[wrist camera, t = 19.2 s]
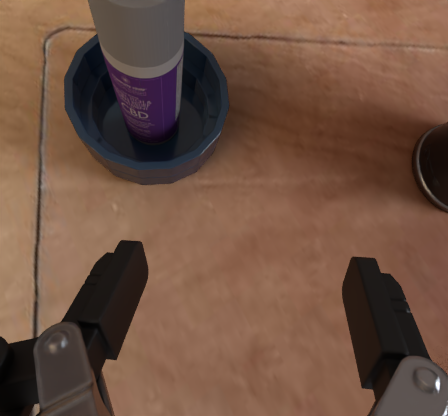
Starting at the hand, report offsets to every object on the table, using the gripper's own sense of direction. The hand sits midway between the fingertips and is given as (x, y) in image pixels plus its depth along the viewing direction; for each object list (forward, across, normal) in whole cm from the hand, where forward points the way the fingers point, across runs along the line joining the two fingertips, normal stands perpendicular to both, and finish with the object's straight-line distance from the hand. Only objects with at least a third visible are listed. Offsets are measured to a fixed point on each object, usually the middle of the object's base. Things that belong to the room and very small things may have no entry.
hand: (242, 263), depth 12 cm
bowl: (+18, +9, +2) cm, 20 cm away
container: (+18, +9, +2) cm, 20 cm away
